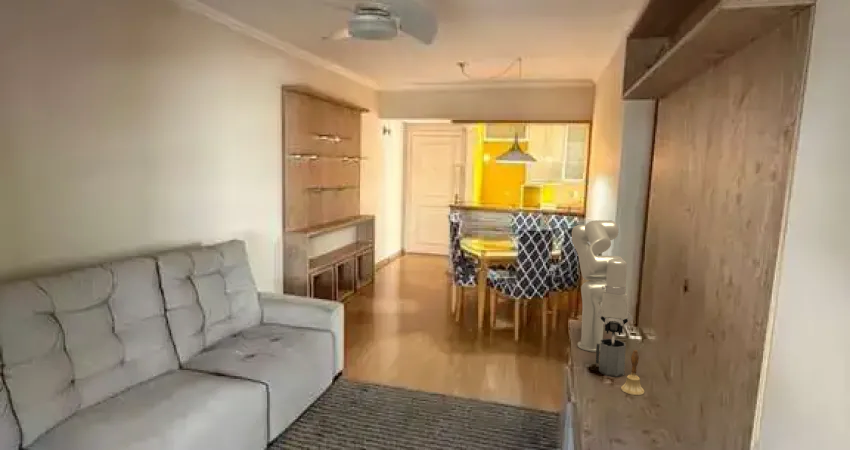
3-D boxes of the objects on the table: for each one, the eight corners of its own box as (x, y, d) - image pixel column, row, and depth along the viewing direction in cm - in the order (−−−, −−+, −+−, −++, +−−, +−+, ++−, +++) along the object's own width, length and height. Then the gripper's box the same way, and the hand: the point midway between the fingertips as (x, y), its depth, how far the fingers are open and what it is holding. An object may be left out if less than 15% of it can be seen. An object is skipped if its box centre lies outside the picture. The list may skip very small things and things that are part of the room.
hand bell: (643, 387, 191) (645, 347, 189) (645, 396, 184) (647, 355, 182) (620, 384, 194) (622, 345, 192) (621, 393, 186) (623, 352, 184)
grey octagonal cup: (595, 365, 212) (597, 337, 211) (624, 368, 208) (625, 340, 207) (595, 374, 203) (596, 345, 202) (624, 378, 199) (626, 348, 198)
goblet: (603, 357, 209) (605, 319, 207) (620, 359, 207) (622, 321, 205) (603, 363, 203) (605, 323, 201) (620, 365, 201) (622, 325, 199)
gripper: (593, 290, 201) (591, 333, 203) (638, 294, 195) (635, 339, 197) (594, 285, 208) (592, 328, 210) (637, 289, 202) (635, 333, 204)
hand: (613, 332), depth 203 cm, fingers closed on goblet, 4 cm apart
